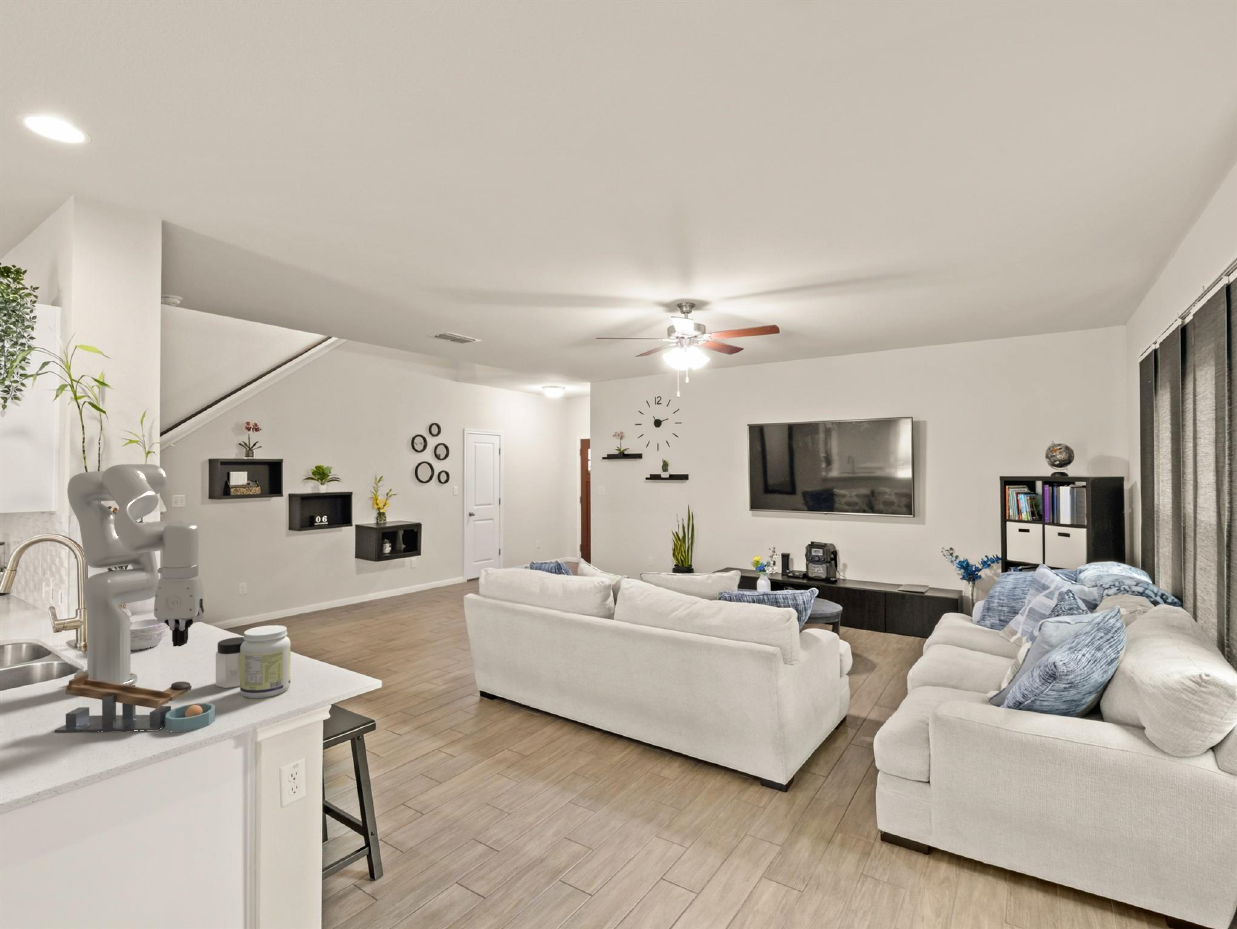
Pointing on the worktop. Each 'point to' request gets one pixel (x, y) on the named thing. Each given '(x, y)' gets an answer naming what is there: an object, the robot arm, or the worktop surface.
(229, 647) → the jar
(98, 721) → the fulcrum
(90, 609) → the robot arm
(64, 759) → the worktop surface
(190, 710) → the ball
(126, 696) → the lever
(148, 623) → the paper bowls
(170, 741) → the worktop surface
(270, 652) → the supplement tub
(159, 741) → the worktop surface
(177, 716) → the dish
